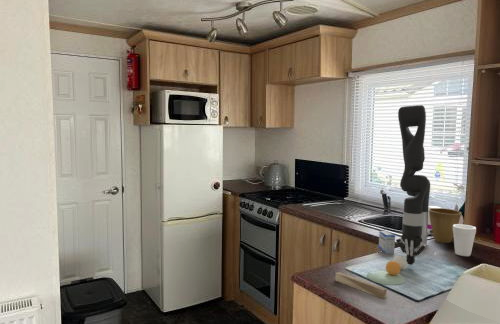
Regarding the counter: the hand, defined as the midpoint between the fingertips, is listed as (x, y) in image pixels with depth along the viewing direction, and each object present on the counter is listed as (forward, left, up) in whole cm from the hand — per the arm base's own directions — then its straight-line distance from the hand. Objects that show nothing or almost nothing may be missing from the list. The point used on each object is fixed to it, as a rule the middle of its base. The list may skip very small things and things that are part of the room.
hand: (410, 264), depth 161 cm
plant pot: (-38, +37, -2) cm, 53 cm away
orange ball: (+8, -11, +1) cm, 14 cm away
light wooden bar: (+20, -29, -2) cm, 36 cm away
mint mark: (+11, -15, -2) cm, 19 cm away
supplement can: (-53, +40, -2) cm, 66 cm away
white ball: (+2, -5, +1) cm, 6 cm away
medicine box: (-23, 0, -2) cm, 23 cm away
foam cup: (-17, +34, -2) cm, 38 cm away
